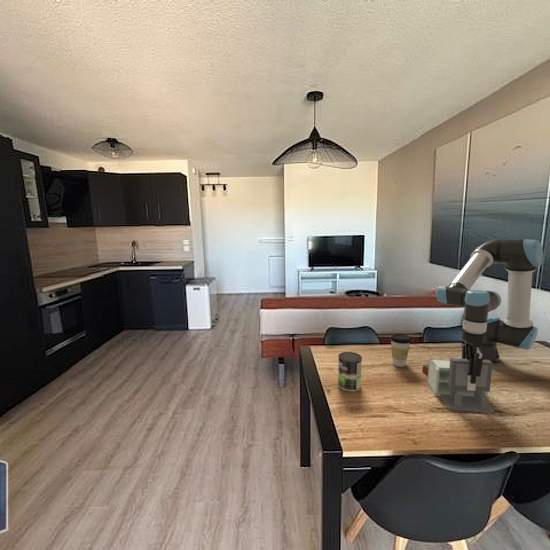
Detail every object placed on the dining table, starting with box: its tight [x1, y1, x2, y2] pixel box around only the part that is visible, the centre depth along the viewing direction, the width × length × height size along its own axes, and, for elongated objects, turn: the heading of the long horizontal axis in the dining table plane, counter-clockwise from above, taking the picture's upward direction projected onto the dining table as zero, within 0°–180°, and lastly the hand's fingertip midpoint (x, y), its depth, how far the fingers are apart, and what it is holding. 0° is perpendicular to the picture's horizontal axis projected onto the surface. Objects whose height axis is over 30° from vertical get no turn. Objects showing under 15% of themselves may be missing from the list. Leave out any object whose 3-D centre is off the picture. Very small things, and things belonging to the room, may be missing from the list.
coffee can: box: [337, 351, 363, 392], centre depth 137 cm, size 10×10×14 cm
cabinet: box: [427, 358, 495, 414], centre depth 126 cm, size 20×20×12 cm
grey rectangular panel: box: [448, 357, 494, 393], centre depth 119 cm, size 14×3×12 cm, turn 80°
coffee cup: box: [389, 333, 412, 367], centre depth 157 cm, size 10×10×15 cm
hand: (468, 387), depth 120 cm, fingers closed on grey rectangular panel, 3 cm apart
